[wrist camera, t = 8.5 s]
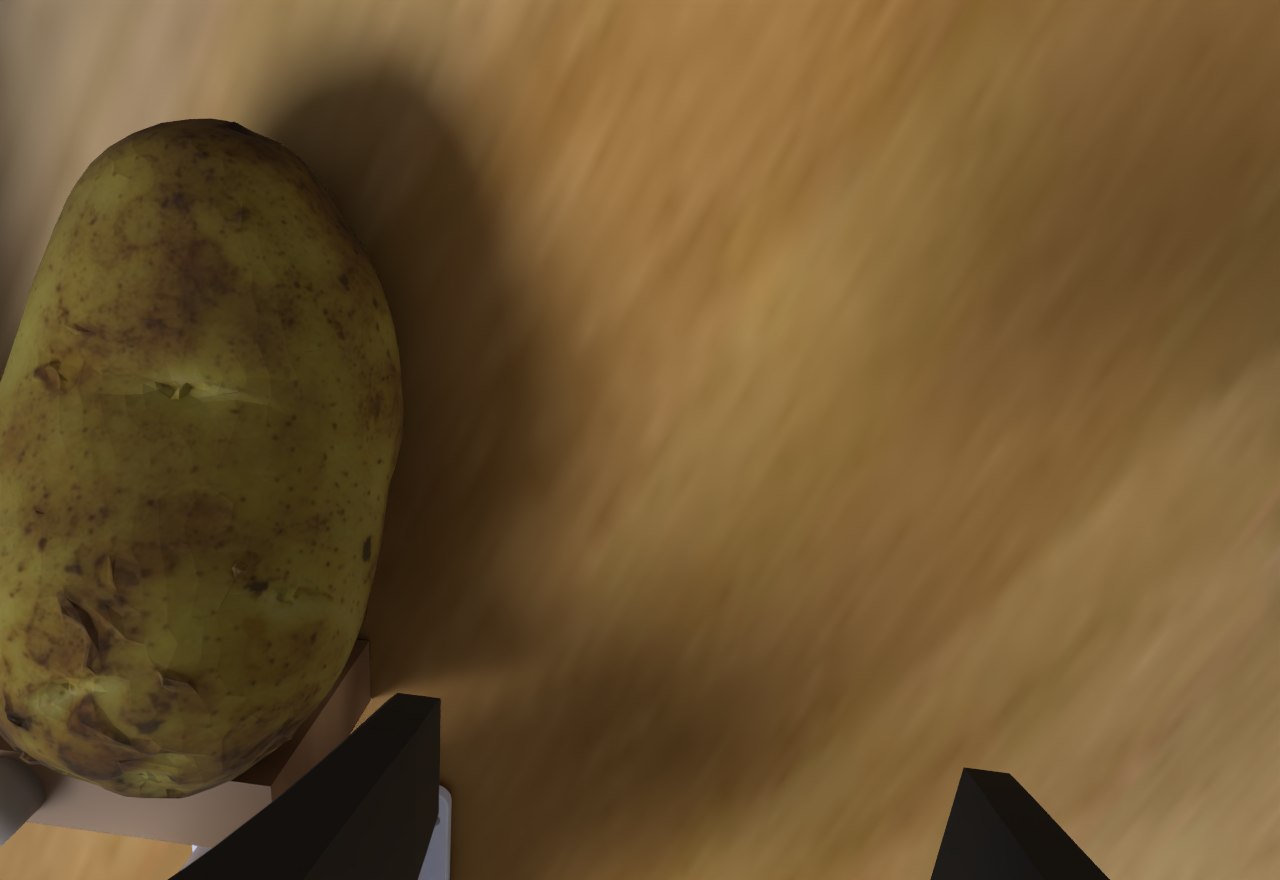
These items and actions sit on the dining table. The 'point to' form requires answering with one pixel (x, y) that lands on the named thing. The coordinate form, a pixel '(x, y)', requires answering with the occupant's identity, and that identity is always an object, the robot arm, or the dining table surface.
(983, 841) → the robot arm
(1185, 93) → the dining table surface
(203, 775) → the potato
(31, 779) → the cradle
